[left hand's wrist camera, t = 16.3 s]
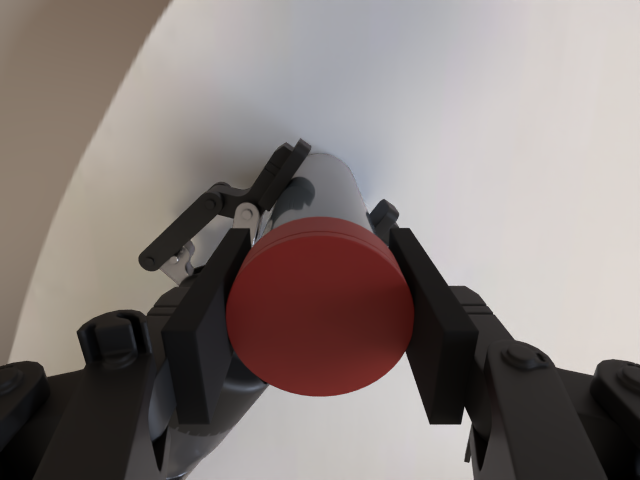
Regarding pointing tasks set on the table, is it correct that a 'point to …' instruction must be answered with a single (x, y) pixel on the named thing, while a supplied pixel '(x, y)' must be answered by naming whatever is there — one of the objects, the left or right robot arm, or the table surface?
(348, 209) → the jar
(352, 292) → the lid
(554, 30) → the table surface
